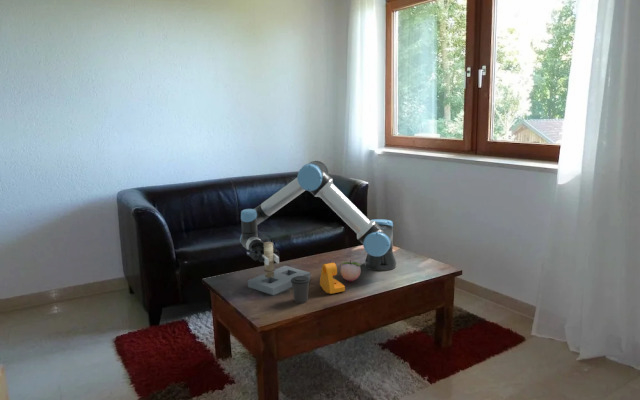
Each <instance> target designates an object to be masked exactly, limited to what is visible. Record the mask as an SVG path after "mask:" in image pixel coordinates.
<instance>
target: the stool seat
mask: <svg viewBox="0 0 640 400" xmlns="http://www.w3.org/2000/svg"><path fill="white" fill-rule="evenodd" d="M296 276H306V277H309V278H310V280H311V278H312V276H311V272H309V271H306V270H302V269H299V268H295V267H292V266H288V265H283V266H280V267H279V268H274V277H271V278H267V277H265V273H263V274H260V275H257V276H255V277H253V278H250V279H247V287H248V288H250V289H254V290H257V291H259V292H262V293H266V294H267V295H271V296H275V295H277V294H280V293H282V292H285V291H287V290H289V289H291V288H293V287H292V282H291V279H292V278H293V277H296Z"/></svg>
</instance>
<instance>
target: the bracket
mask: <svg viewBox="0 0 640 400" xmlns="http://www.w3.org/2000/svg"><path fill="white" fill-rule="evenodd" d="M320 272H321V273H320V279H319V286H320V287H321V289H322V290H323V291H324V292H325V293H327V294H332V295H333V294H336V293H341V292H345V291H346V286H345V284H343V283H342V282H340V281H339V280H338V279H336V278H334V276H336V275H338V267H337V264H336V263H335V262H329V263H323V264H322V266H321V271H320Z"/></svg>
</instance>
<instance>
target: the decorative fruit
mask: <svg viewBox="0 0 640 400" xmlns="http://www.w3.org/2000/svg"><path fill="white" fill-rule="evenodd" d="M339 265H341V266H340V275H341V277H342V278H343V280H345V281H348V282H350V283H351V282H353V281H355V280H357V279H358V278H359V277H360V276H361V273H362V272H361V271H362V270H361V267H362V265H361V264H360V263H358V262H356V261H355V262H353V261H352V260H351V259H350V261H344V262H341V263H340V264H339Z"/></svg>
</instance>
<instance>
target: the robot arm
mask: <svg viewBox="0 0 640 400" xmlns="http://www.w3.org/2000/svg"><path fill="white" fill-rule="evenodd" d="M333 181H334V180H333V177H332V176H330V174H329V168H328V167H327V165H326V164H325V163H324V162H322V161H319V160H313V161H310V162H309V163H306V164H304V165H302V167H301V168H300V169H299V170H298V173H297V177H295V178H294V179H292V180H291V181H290V182H289V183H287V184H286V185H285V186H284V187H282V188H281V189H279V190H278V191H277V192H275V193H274V194H272V195H271V196H270V197H268V198H267V199H265V200H264V201H263V202H262V203H261V204H258V206H256V207H255V208H245V209H243V210H241V211H240V221H241V223H240V224H241V225H240V226H241V235H240V238H239V242H240V244H241V246H242V247H243V248H245V249H246V256H248V257H250V259H252V260H253V261H255V262H256V261H257V262H259V263H264V265H265V264H266V265H269V259H268V258H267V257H266V256H265V255H264V243H265V242H264V241H262V240H261V239H260V238H259V237H258V225H260V224H261V223H262V222H265V220H267V219H268V218H269V217H271V216H272V215H273V214H275V213H276V212H278V211H279V210H280V209H282V208H284V206H286V205H287V204H288V203H290V202H291V201H293V200H294V199H296V198H297V197H298V196H300V195H301V194H302V193H304V192H305V191H308V192H309V193H310V194H312V195H313V197H316V198H317V197H318V198H320V199H322V201H323V202H324V203H325V204H326V205H327V206H328V207H329V208H330V209H331V210H332V211H333V212H334V213H336V215H337V216H338V217H339V218H341V220H342V221H343V222H344V223H346V225H347V226H348V227H350V229H351V230H352V231H354V233H355V234H356V239H357V241H359V243H360V244H362V246H363V249H364V251H365V252H366V258H365V260H364V266H365V267H366V268H367V269H369V270H373V271H390V270H393V269H395V268H396V267H397V260H396V258H395V254H394V250H393V248H394V247H393V243H394V241H393V237H394V236H393V235H394V233H393V232H394V222H393V220H390V219H382V218H381V219H371V220H370V219H369V218H368V217H367V216H366V215H365V214H364V213H363V212H362V211H361V210H360V209H359V208H358V207H357V206H356V205H355V204H354V203H353V202H352V201H351V200H350V199H349V198H348V197H347V196H346V195H345V194H344V193H343V192H342V191H341V189H339V188H338V187H337V186H336V185H335V184H334V182H333ZM273 258H274V263H276V264H280V251H279V250H278V249H277V248H276V247H275V245H273Z"/></svg>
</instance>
